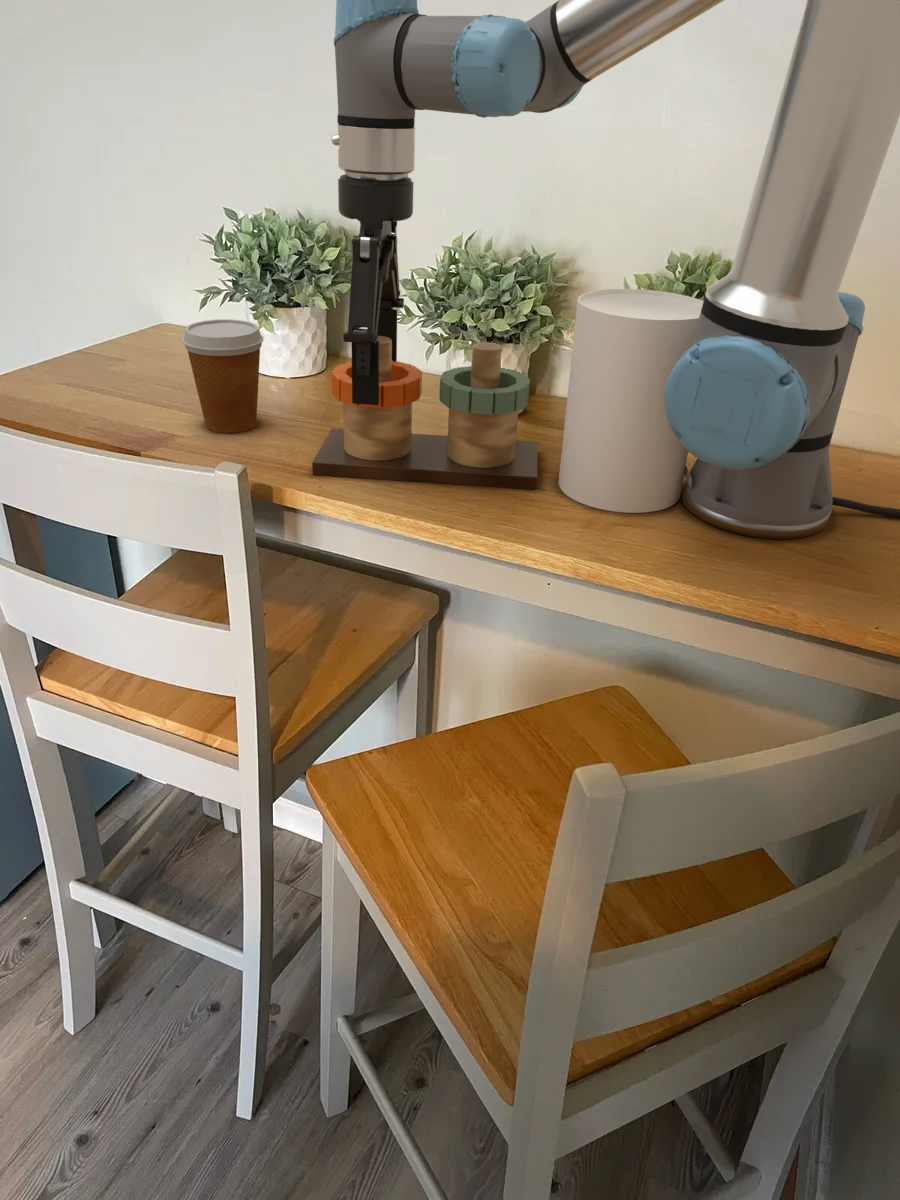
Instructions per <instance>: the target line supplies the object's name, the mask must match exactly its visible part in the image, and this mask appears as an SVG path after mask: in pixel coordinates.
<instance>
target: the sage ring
mask: <svg viewBox="0 0 900 1200" xmlns="http://www.w3.org/2000/svg"><path fill="white" fill-rule="evenodd" d="M470 383H471V365H469V366H460V367H459V366H458V367H454V368H453V367H452V368H451V369H449V370H445V371H443V372H442V373H441V376H440V379H439V402H440V403H441V404H443V405H444V406H445V407H446V408H448V409H449V408H451V409H454V410H458V411H462V412H466V413H469V412H471V414H485V415H492V413H493V414H495V415H498V414H506V413H514V411H515V412H517V411H519V410H521V409H523V408H524V409H525V408H527V407H528V406H529V397H530V396H529V395H530V385H531V379H530V378H529V377H528V376H527V375H526V376H525V375H523V374H522V373H520V372H517V371H514V370H510V369H505V368H500V383H499V388H497V389H483V388H473V387H470ZM524 409H523V410H524Z"/></svg>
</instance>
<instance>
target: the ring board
mask: <svg viewBox="0 0 900 1200" xmlns="http://www.w3.org/2000/svg"><path fill="white" fill-rule="evenodd" d="M377 341H379V382H387V381H392V340H391V339H390V338H388V337H384V336H377ZM501 352H502V346H501V345H499V344H496V343H493V342H489V341H488V342H487V341H483V342H482V341H480V342H475V343H473V344H472V345H471V362H470V363H471V364H470V366H471V383H470V387H473V388H483V389H497V388H499V383H500V368H501ZM447 416H448V417H447V419H448V420H447V435H439V434H428V433H427V434H425V433H424V434H423V433H412V431H413V402H412V403H410V404H407V405H404V404H403V406H396V407H388V408H383V407H382V406H381V408H372V407H360V405H359V406H354V405H351V404H347V403H344V402H342V422H343V424H342V425H343V428H331V429H330V431H329V432H328V435H327V436H326V438H325V439H324V442H323V443H322V445H321V446H320V448H319V450H318V451H317V453H316V455H315V457H314V459H313V461H312V463H311V466H312V475H315V476H327V477H328V476H329V477H342V478H343V477H344V478H357V479H358V478H359V479H373V480H387V481H403V482H416V483H417V482H418V483H432V484H446V485H447V484H448V485H462V486H477V487H492V488H504V489H505V488H506V489H519V490H520V489H523V490H535V491H536V490H537V484H538V441H536V440H535V441H534V440H519V439H517V434H518V433H517V432H518V419H519V414H518V411H517V412H515V411H514V413H506V414H498V415H495V414H493V413H492V415H485V414H471V412H469V413H466V412H462V411H458V410H454V409H451V408H448V415H447Z"/></svg>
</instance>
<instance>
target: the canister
mask: <svg viewBox="0 0 900 1200" xmlns="http://www.w3.org/2000/svg"><path fill="white" fill-rule="evenodd" d="M703 302H704V300H702V299H699V298H696V297H693V296H689V295H685V294H681V293H674V292H668V291H661V290H653V289H642V288H641V289H639V288H608V289H598V290H592V291H587V292H584V293H582V294H580V295H579V296H578V297H577V301H576V311H575V319H574V330H573V331H574V332H573V339H572V348H571V350H572V351H571V358H570V359H571V360H570V368H569V378H568V389H567V397H566V398H567V399H566V407H565V416H564V425H563V436H562V444H561V455H560V462H559V463H560V464H559V474H558V487H559V489H560V490H561V492H562V493H564V494H565V495H566V496H567V497H568V498H570V499H572V500H574V501H575V502H577V503H580V504H582V505H585V506H588V507H591V508H594V509H598V510H603V511H608V512H616V513H626V514H627V513H628V514H629V513H630V514H638V513H640V514H641V513H651V512H657V511H661V510H664V509H668V508H670V507H672V506H673V505H675V504H676V503H677V502H678V501H679V500H680V498H681V494H682V488H683V487H682V486H683V482H684V479H685V478H684V477H685V475H684V471H685V466H686V467H687V460H688V456H689V451H688V450H687V449H685V448H684V447H683V445H682V444H681V443H680V442H679V439H678V438H677V437H676V435H675V433H674V431H673V430H672V429H671V427H670V425H669V422H668V419H667V416H666V411H665V402H664V400H665V389H666V384H667V381H668V378H669V376H670V373H671V372H672V370H673V368H674V366H675V363H676V362H678V360H679V359H680V357H681V355H682V354H683V353H684V352H685V351H686V350H688V349H689V348H691V345H692V341H693V337H694V334H695V330H696V326H697V323H698V319H699V316H700V313H701V309H702V305H703Z"/></svg>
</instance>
